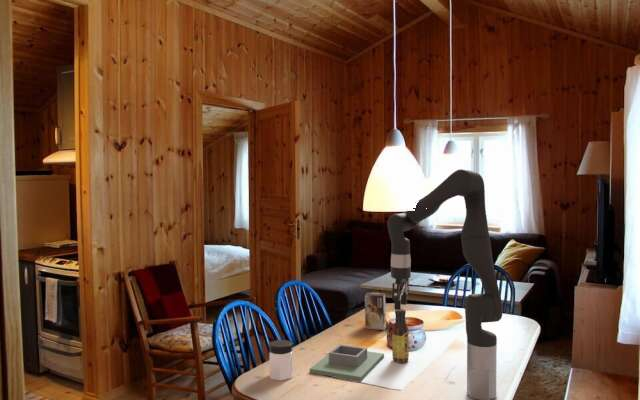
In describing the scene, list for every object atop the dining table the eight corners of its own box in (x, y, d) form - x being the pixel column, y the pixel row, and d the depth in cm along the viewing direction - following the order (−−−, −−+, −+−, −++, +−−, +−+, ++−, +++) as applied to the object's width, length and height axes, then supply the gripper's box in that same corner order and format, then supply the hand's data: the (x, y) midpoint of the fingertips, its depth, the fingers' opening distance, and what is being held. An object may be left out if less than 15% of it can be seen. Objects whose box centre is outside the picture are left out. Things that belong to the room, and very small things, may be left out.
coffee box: (386, 326, 251) (386, 292, 250) (384, 330, 245) (384, 295, 244) (367, 325, 254) (367, 291, 253) (364, 328, 248) (364, 294, 247)
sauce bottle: (408, 364, 201) (408, 312, 200) (391, 363, 203) (391, 311, 202) (409, 358, 208) (408, 308, 207) (393, 357, 209) (392, 307, 208)
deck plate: (361, 381, 186) (361, 365, 185) (309, 372, 194) (309, 357, 194) (384, 357, 209) (383, 343, 209) (337, 350, 217) (337, 337, 217)
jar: (264, 377, 190) (263, 344, 189) (277, 370, 197) (276, 338, 196) (285, 382, 185) (284, 348, 185) (297, 374, 192) (297, 342, 192)
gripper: (405, 269, 195) (405, 312, 196) (415, 262, 208) (415, 303, 209) (385, 267, 198) (385, 310, 199) (396, 261, 211) (396, 301, 212)
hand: (400, 306), depth 204 cm, fingers open, 8 cm apart
